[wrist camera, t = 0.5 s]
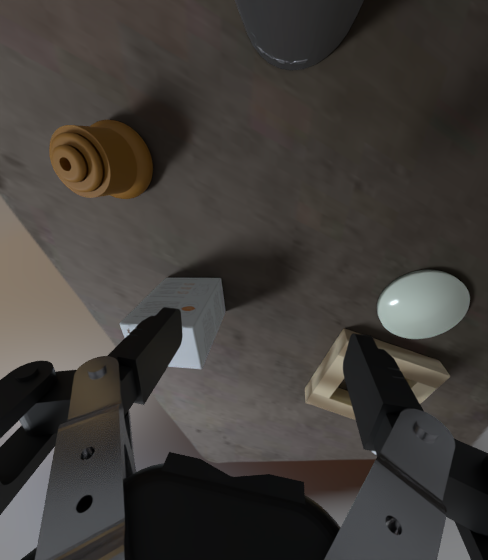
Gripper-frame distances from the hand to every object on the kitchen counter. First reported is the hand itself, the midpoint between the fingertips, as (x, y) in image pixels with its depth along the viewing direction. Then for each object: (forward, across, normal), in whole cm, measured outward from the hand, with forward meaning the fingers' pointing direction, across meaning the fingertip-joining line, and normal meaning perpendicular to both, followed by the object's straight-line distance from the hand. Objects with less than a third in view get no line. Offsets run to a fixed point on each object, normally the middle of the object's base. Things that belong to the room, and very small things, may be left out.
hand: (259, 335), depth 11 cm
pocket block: (+19, -15, +19) cm, 31 cm away
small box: (+19, +10, +9) cm, 23 cm away
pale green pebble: (+18, -17, +6) cm, 26 cm away
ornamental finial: (+18, +18, -7) cm, 26 cm away
